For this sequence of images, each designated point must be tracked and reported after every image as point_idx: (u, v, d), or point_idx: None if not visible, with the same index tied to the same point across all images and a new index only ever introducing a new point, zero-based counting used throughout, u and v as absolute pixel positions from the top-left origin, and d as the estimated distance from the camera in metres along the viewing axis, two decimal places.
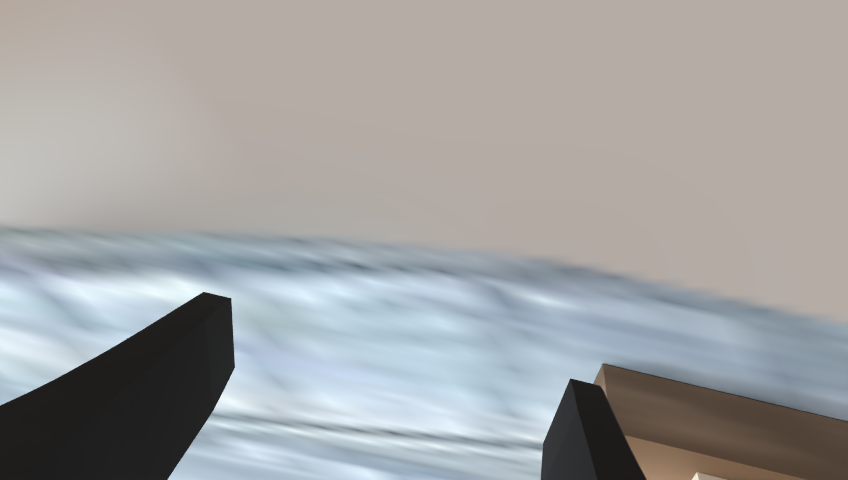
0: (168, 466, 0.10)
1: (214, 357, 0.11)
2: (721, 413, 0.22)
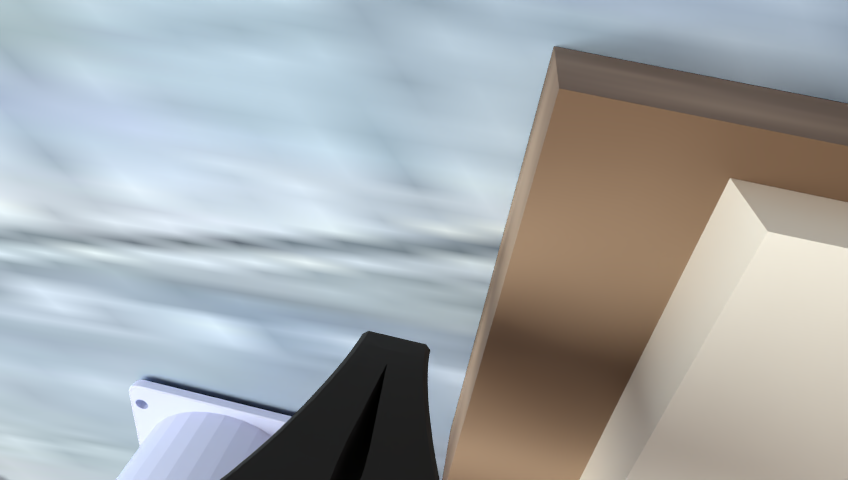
0: None
1: None
2: (771, 101, 0.12)
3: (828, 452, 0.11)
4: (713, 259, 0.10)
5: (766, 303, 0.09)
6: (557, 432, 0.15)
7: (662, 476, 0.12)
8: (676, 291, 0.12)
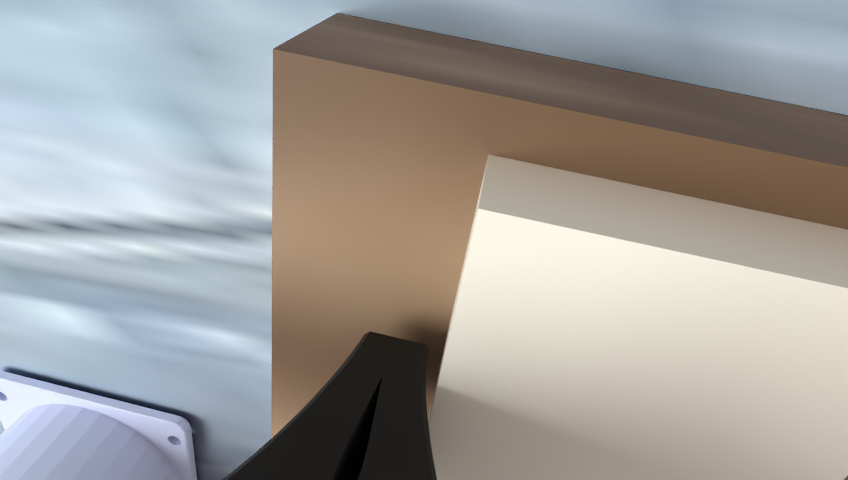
0: None
1: None
2: (543, 69, 0.11)
3: (604, 450, 0.10)
4: None
5: (498, 288, 0.09)
6: None
7: (449, 476, 0.11)
8: None
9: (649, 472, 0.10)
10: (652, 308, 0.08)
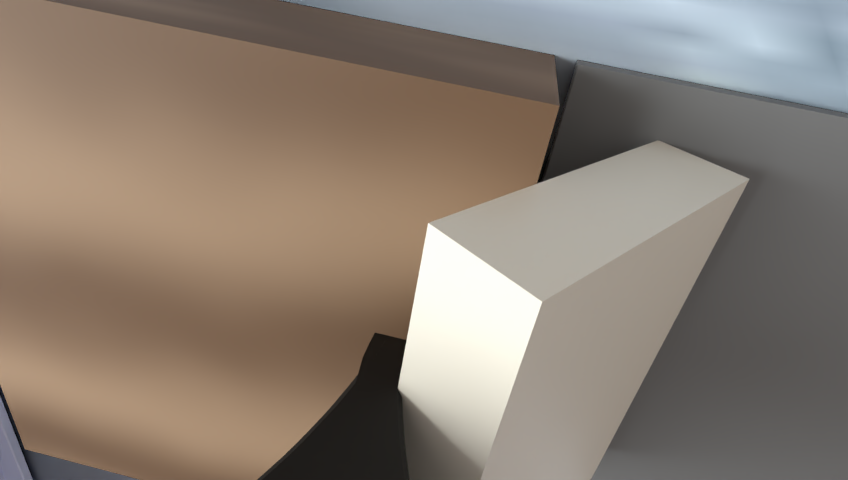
0: None
1: None
2: None
3: (580, 412, 0.11)
4: (456, 328, 0.08)
5: (542, 358, 0.08)
6: (62, 346, 0.14)
7: None
8: (408, 362, 0.09)
9: (598, 400, 0.12)
10: (628, 288, 0.09)
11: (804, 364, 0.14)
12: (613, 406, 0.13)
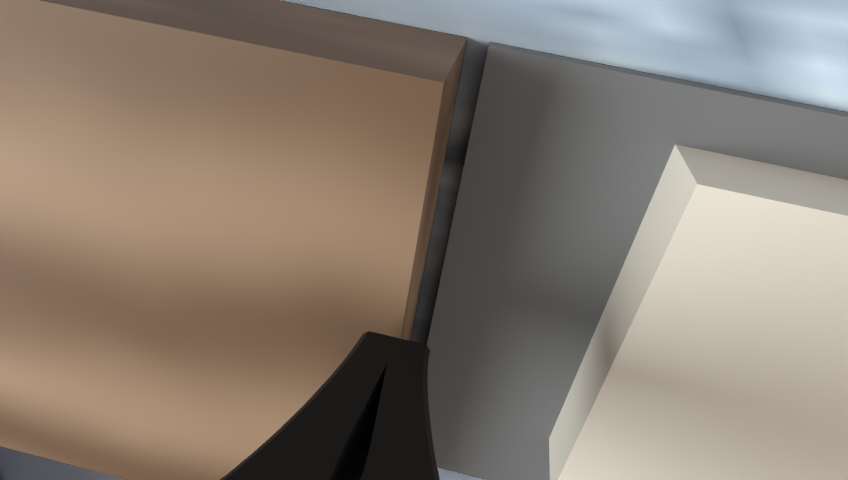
0: None
1: None
2: None
3: None
4: None
5: None
6: None
7: None
8: None
9: None
10: None
11: None
12: None
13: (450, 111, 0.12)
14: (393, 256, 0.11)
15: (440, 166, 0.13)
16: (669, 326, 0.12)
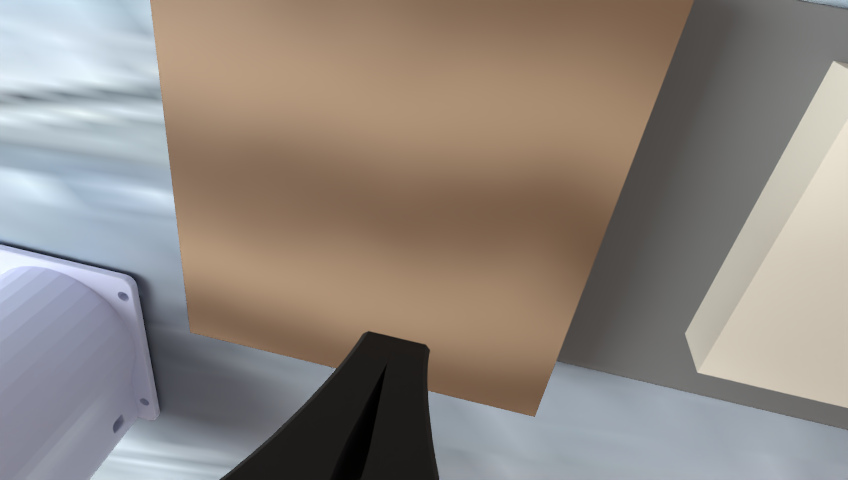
0: None
1: None
2: None
3: None
4: None
5: None
6: (247, 228, 0.18)
7: None
8: None
9: None
10: None
11: None
12: None
13: None
14: (621, 144, 0.14)
15: None
16: (828, 207, 0.15)
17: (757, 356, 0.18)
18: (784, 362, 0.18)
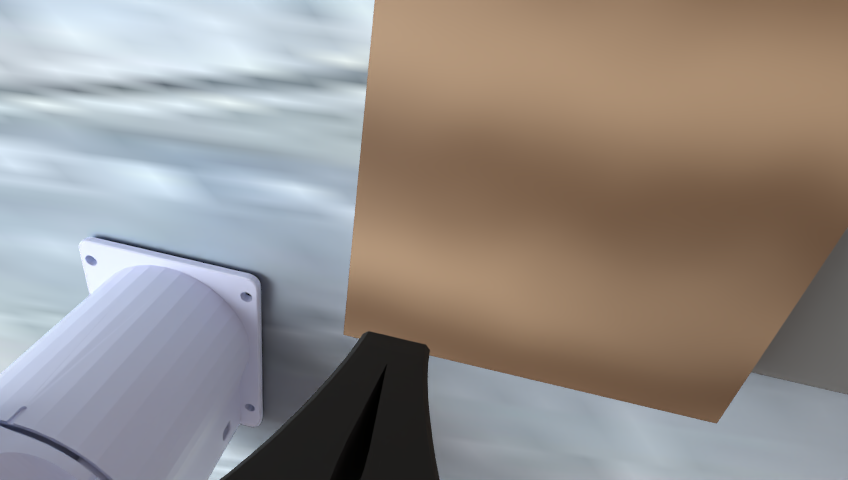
0: None
1: None
2: None
3: None
4: None
5: None
6: (433, 223, 0.16)
7: None
8: None
9: None
10: None
11: None
12: None
13: None
14: None
15: None
16: None
17: None
18: None
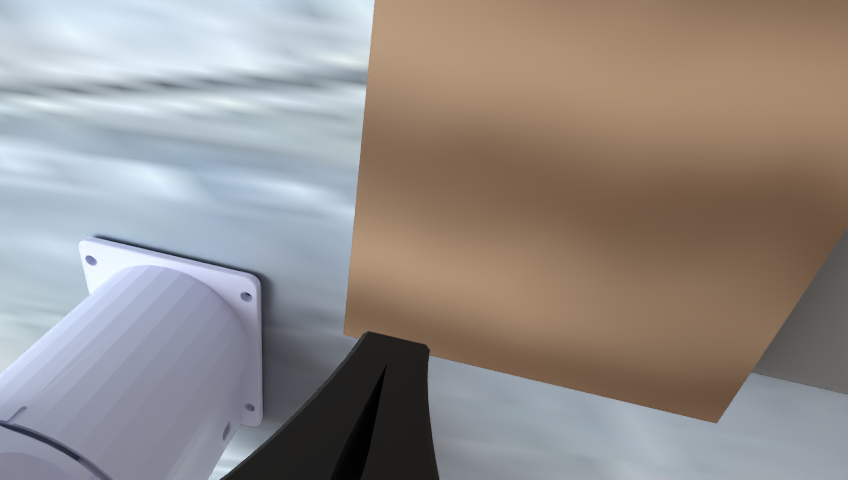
0: None
1: None
2: None
3: None
4: None
5: None
6: (433, 223, 0.16)
7: None
8: None
9: None
10: None
11: None
12: None
13: None
14: None
15: None
16: None
17: None
18: None
